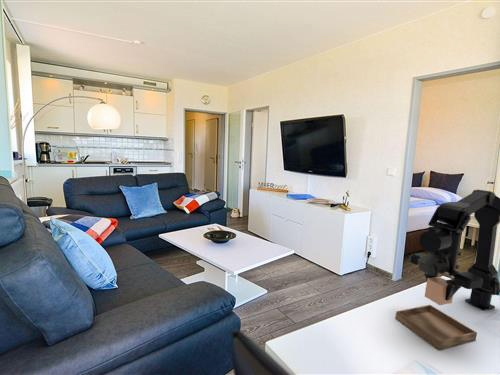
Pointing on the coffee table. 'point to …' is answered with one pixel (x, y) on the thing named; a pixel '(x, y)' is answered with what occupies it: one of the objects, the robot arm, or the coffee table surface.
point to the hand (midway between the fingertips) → (438, 295)
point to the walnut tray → (435, 327)
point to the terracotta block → (437, 290)
